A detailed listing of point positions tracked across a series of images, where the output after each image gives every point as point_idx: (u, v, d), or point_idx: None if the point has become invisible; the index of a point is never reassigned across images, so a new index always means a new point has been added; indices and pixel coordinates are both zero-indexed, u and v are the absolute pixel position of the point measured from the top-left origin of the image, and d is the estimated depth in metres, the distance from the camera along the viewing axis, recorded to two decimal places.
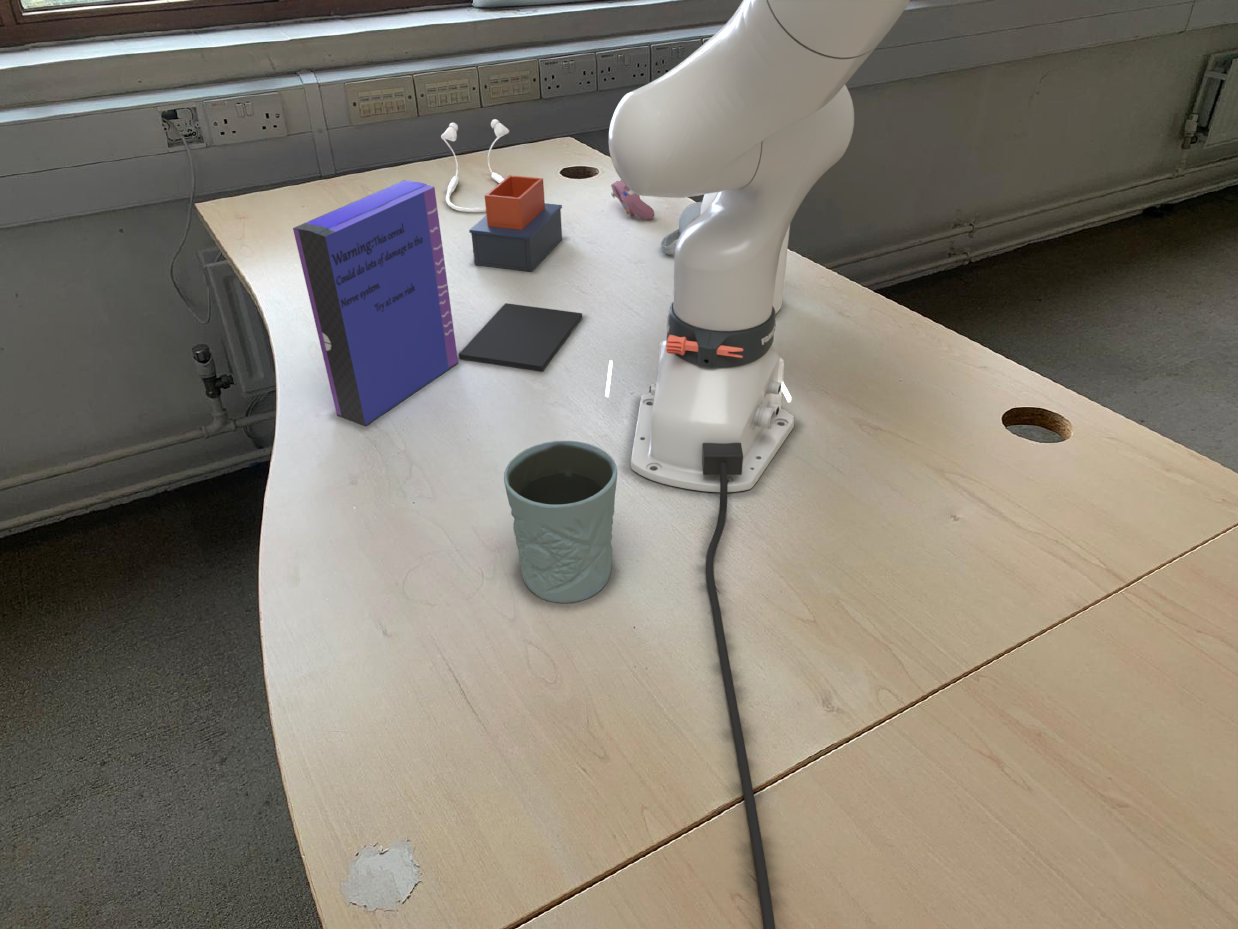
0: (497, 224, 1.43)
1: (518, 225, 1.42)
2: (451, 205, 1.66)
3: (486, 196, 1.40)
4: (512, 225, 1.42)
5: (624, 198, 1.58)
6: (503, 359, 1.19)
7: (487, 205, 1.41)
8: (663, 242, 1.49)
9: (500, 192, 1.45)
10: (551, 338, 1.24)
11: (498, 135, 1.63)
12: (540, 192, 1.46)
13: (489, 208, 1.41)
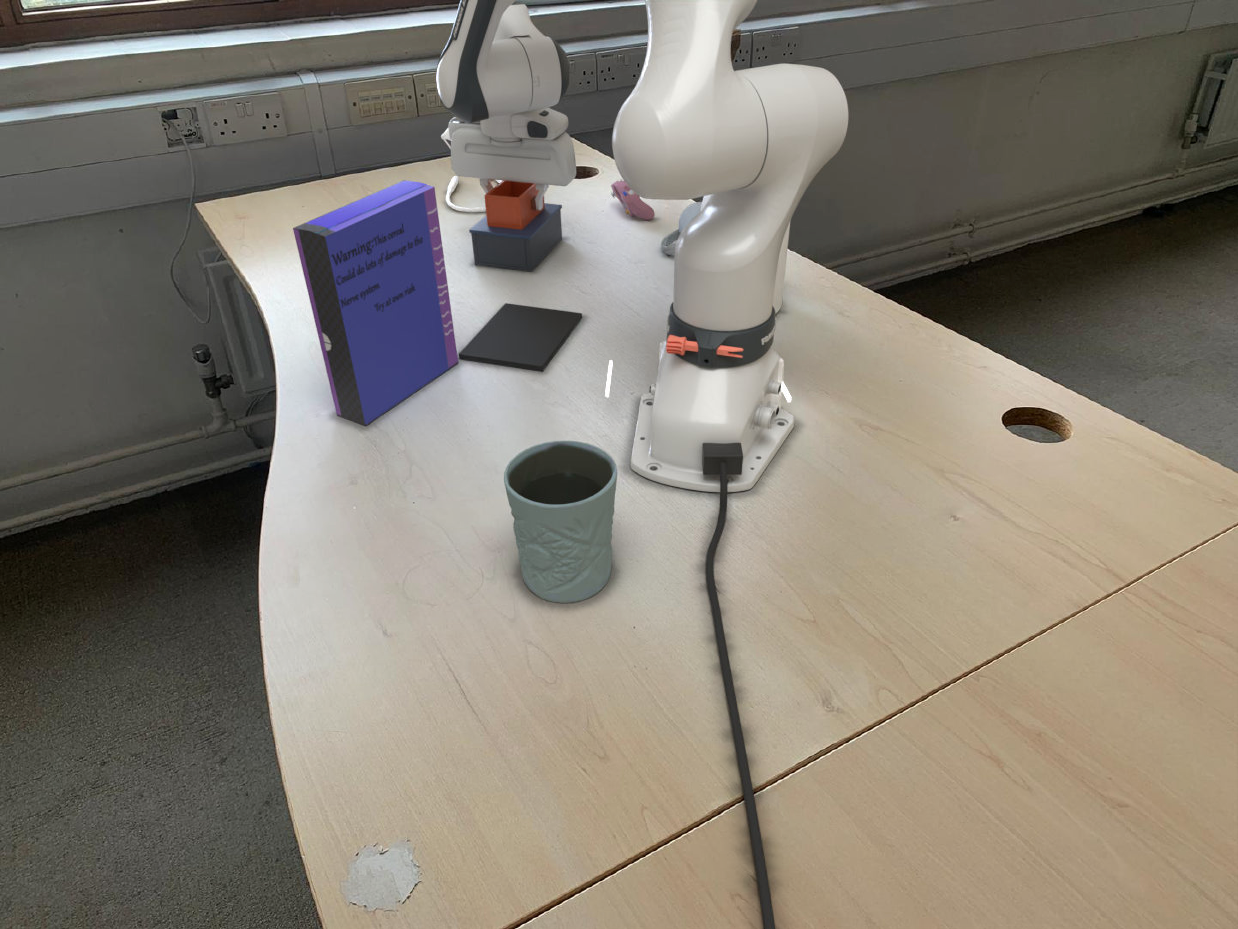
0: (497, 224, 1.43)
1: (518, 225, 1.42)
2: (451, 205, 1.66)
3: (486, 196, 1.40)
4: (512, 225, 1.42)
5: (624, 198, 1.58)
6: (503, 359, 1.19)
7: (487, 205, 1.41)
8: (663, 242, 1.49)
9: (500, 192, 1.45)
10: (551, 338, 1.24)
11: None
12: None
13: (489, 208, 1.41)
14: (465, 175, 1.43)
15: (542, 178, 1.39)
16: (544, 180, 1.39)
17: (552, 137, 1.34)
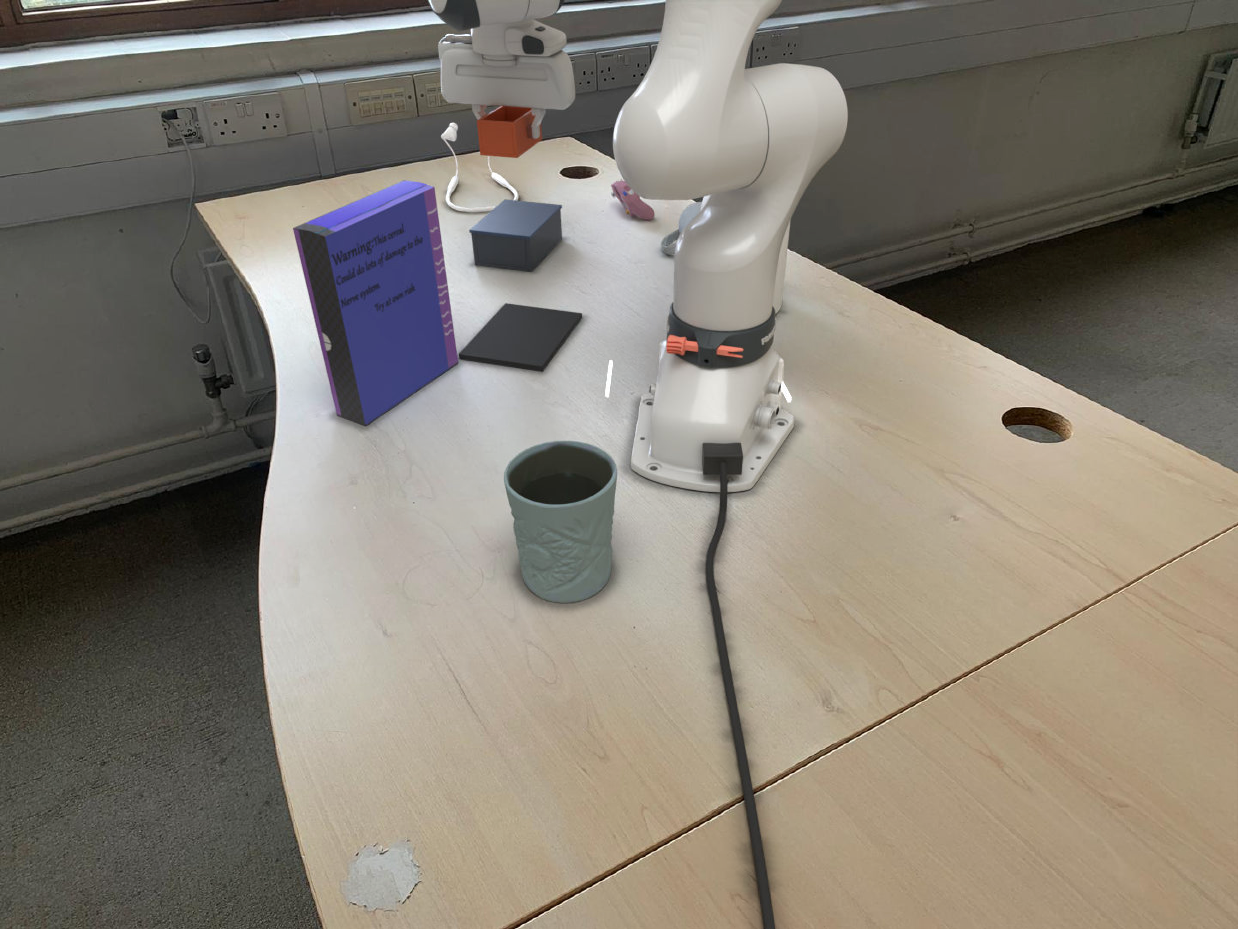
0: (490, 152, 1.33)
1: (512, 153, 1.32)
2: (451, 205, 1.66)
3: (478, 121, 1.31)
4: (506, 153, 1.32)
5: (624, 198, 1.58)
6: (503, 359, 1.19)
7: (480, 131, 1.32)
8: (663, 242, 1.49)
9: (494, 120, 1.35)
10: (551, 338, 1.24)
11: None
12: None
13: (482, 135, 1.32)
14: (456, 101, 1.33)
15: (538, 101, 1.30)
16: (541, 103, 1.30)
17: (549, 53, 1.24)
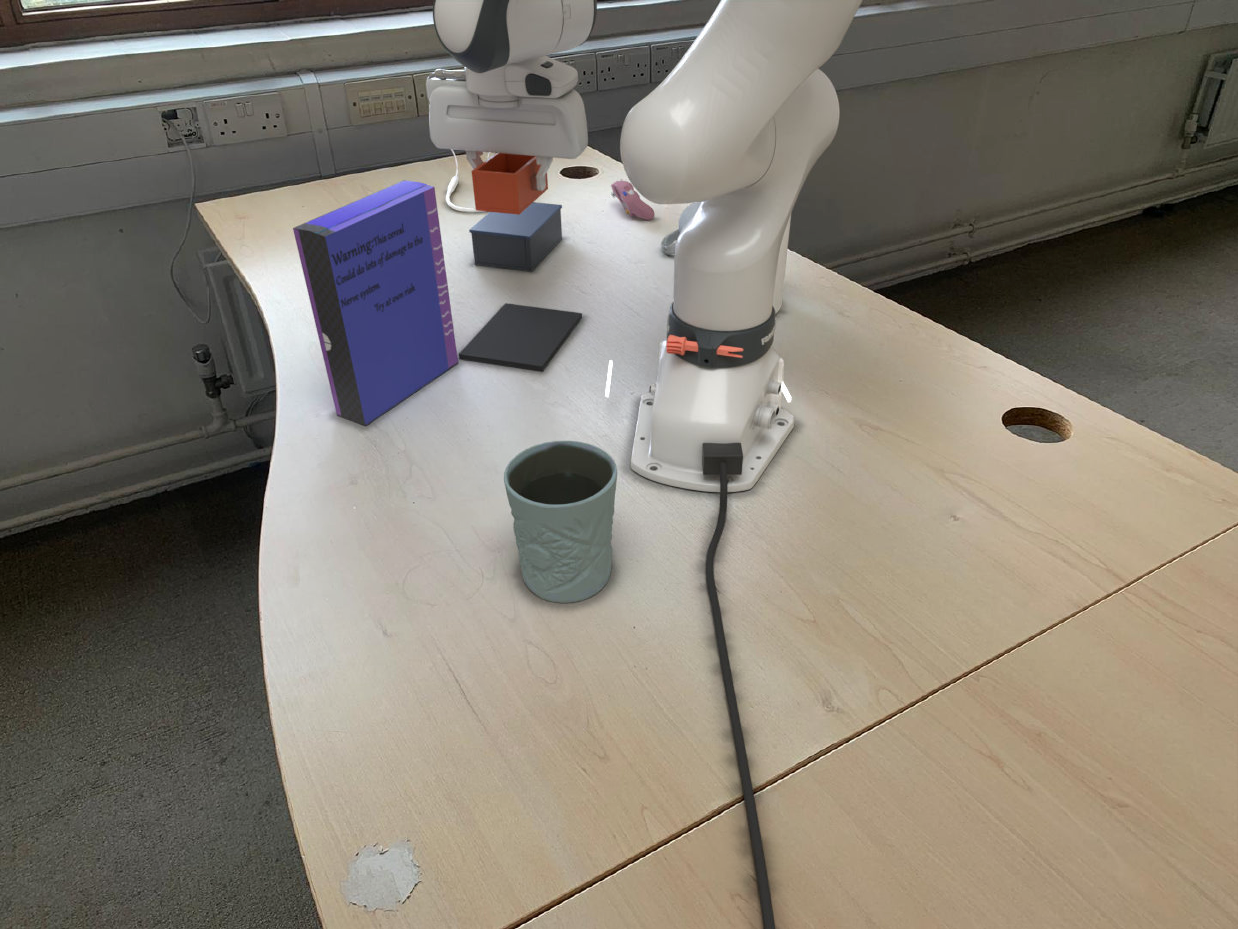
0: (488, 208, 1.13)
1: (514, 209, 1.12)
2: (451, 205, 1.66)
3: (473, 172, 1.11)
4: (506, 209, 1.12)
5: (624, 198, 1.58)
6: (503, 359, 1.19)
7: (475, 183, 1.11)
8: (663, 242, 1.49)
9: (492, 168, 1.15)
10: (551, 338, 1.24)
11: None
12: None
13: (477, 187, 1.12)
14: (448, 147, 1.13)
15: (545, 149, 1.10)
16: (548, 152, 1.10)
17: (557, 94, 1.04)
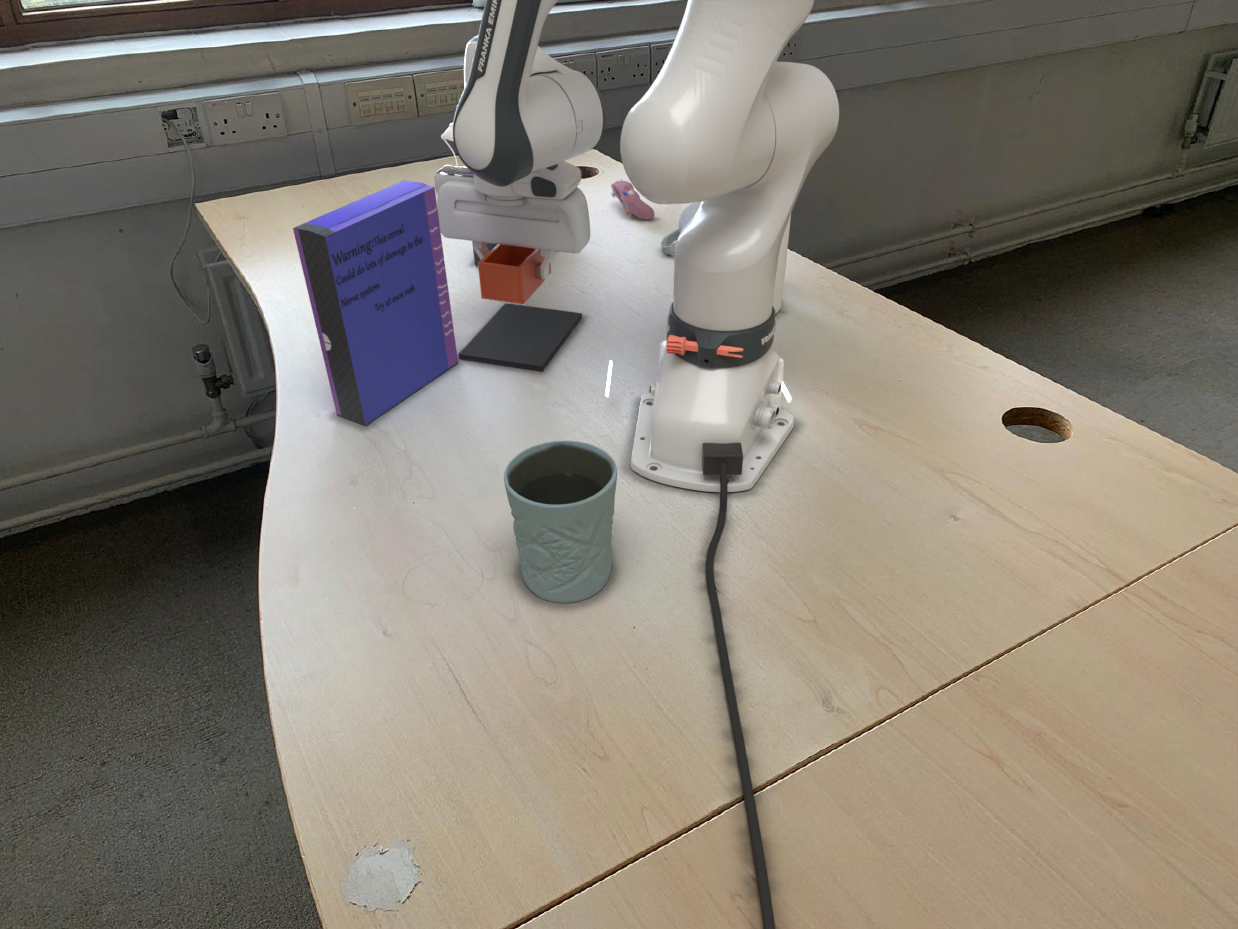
0: (493, 297, 1.17)
1: (518, 299, 1.16)
2: None
3: (480, 264, 1.15)
4: (511, 298, 1.17)
5: (624, 198, 1.58)
6: (503, 359, 1.19)
7: (481, 274, 1.16)
8: (663, 242, 1.49)
9: (497, 256, 1.19)
10: (551, 338, 1.24)
11: None
12: None
13: (484, 278, 1.16)
14: (455, 237, 1.17)
15: (549, 243, 1.14)
16: (552, 246, 1.14)
17: (562, 196, 1.08)
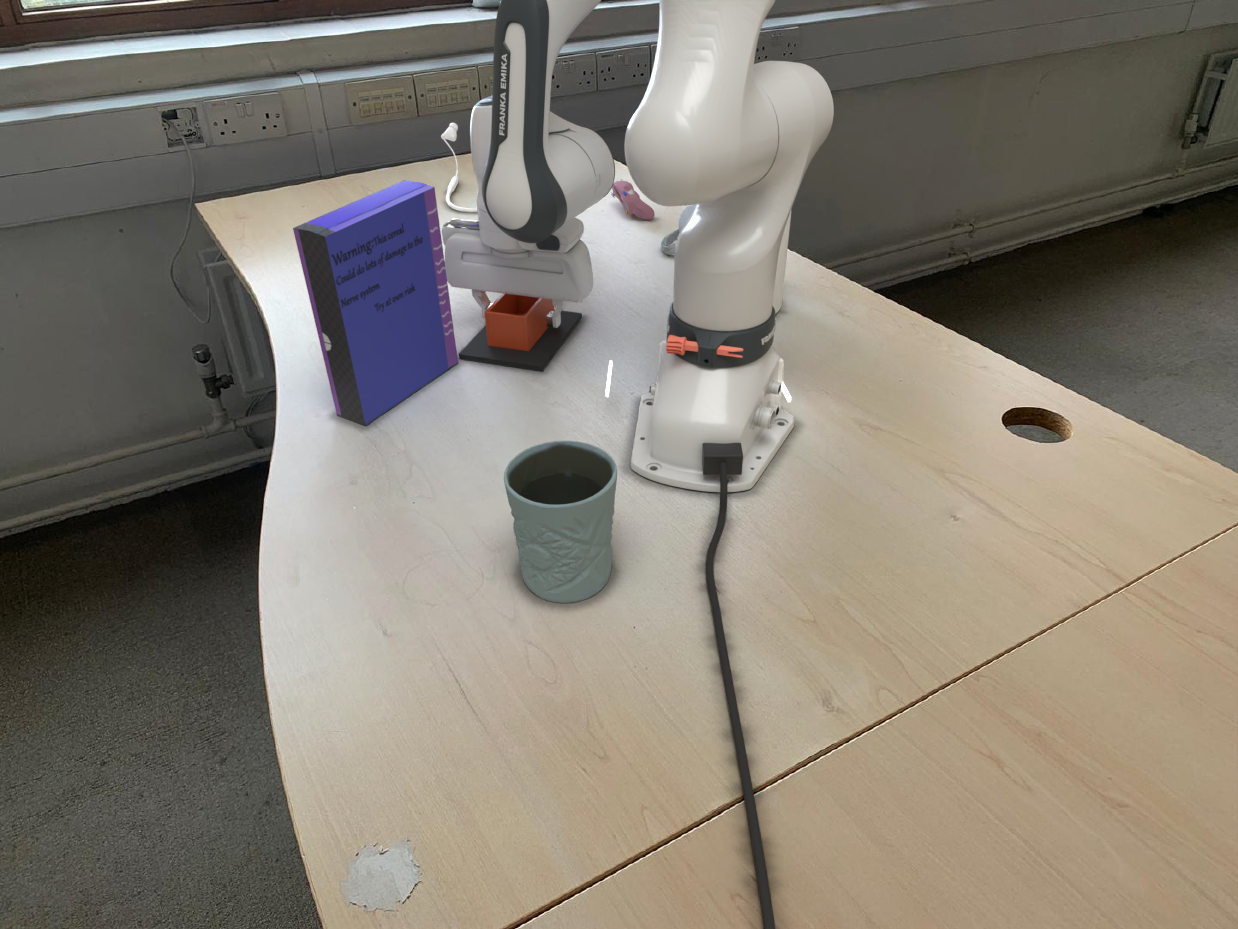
0: (499, 344, 1.21)
1: (523, 346, 1.20)
2: (451, 205, 1.66)
3: (486, 313, 1.19)
4: (517, 346, 1.21)
5: (624, 198, 1.58)
6: (503, 359, 1.19)
7: (487, 323, 1.20)
8: (663, 242, 1.49)
9: (503, 304, 1.23)
10: (551, 338, 1.24)
11: None
12: (550, 303, 1.25)
13: (490, 326, 1.20)
14: (462, 286, 1.21)
15: (553, 293, 1.18)
16: (555, 296, 1.18)
17: (565, 250, 1.12)
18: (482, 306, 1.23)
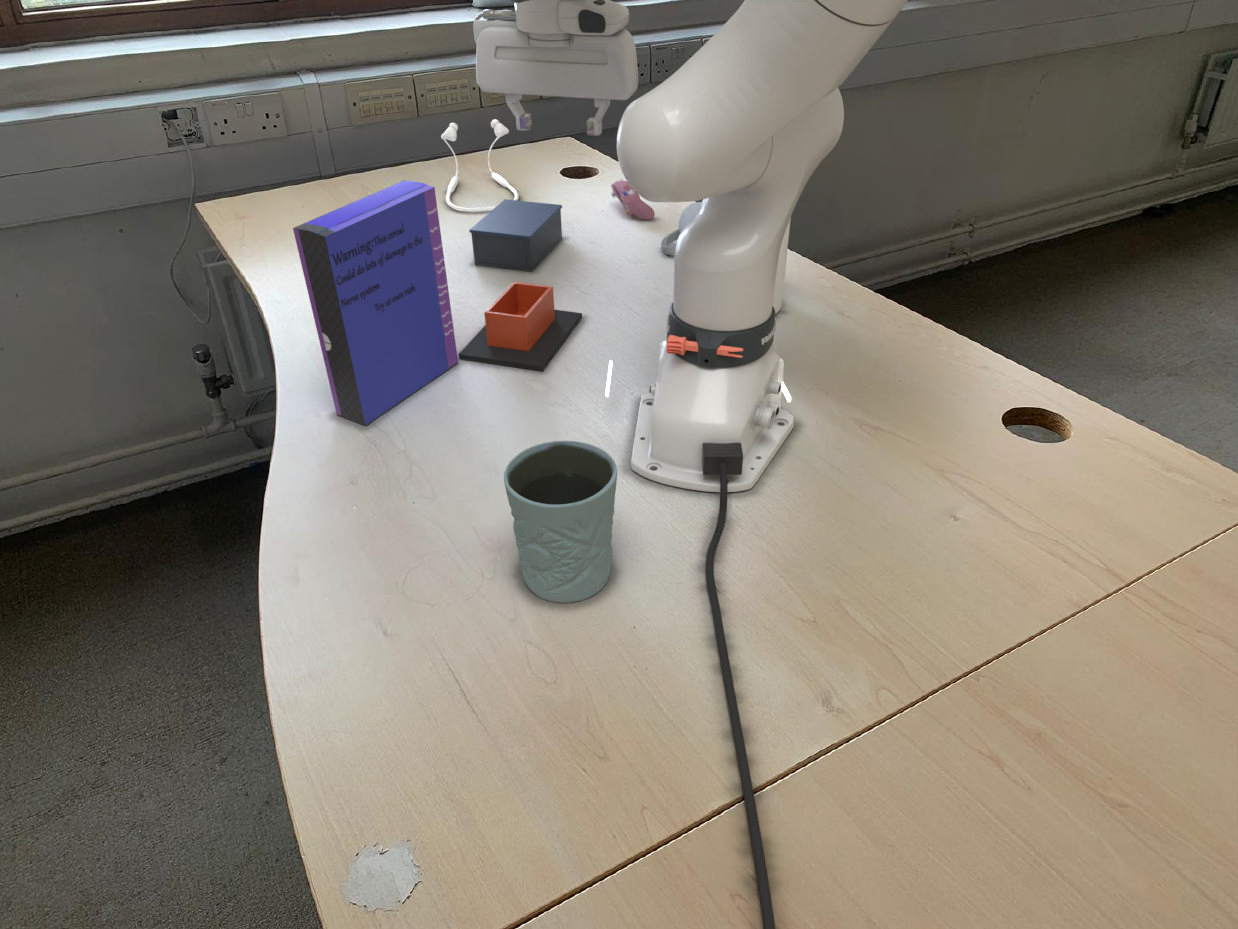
0: (499, 344, 1.21)
1: (523, 346, 1.20)
2: (451, 205, 1.66)
3: (486, 313, 1.19)
4: (517, 346, 1.21)
5: (624, 198, 1.58)
6: (503, 359, 1.19)
7: (487, 323, 1.20)
8: (663, 242, 1.49)
9: (503, 304, 1.23)
10: (551, 338, 1.24)
11: (498, 135, 1.63)
12: (550, 303, 1.25)
13: (490, 326, 1.20)
14: (494, 90, 1.12)
15: (595, 90, 1.08)
16: (598, 93, 1.08)
17: (611, 31, 1.02)
18: (516, 114, 1.14)
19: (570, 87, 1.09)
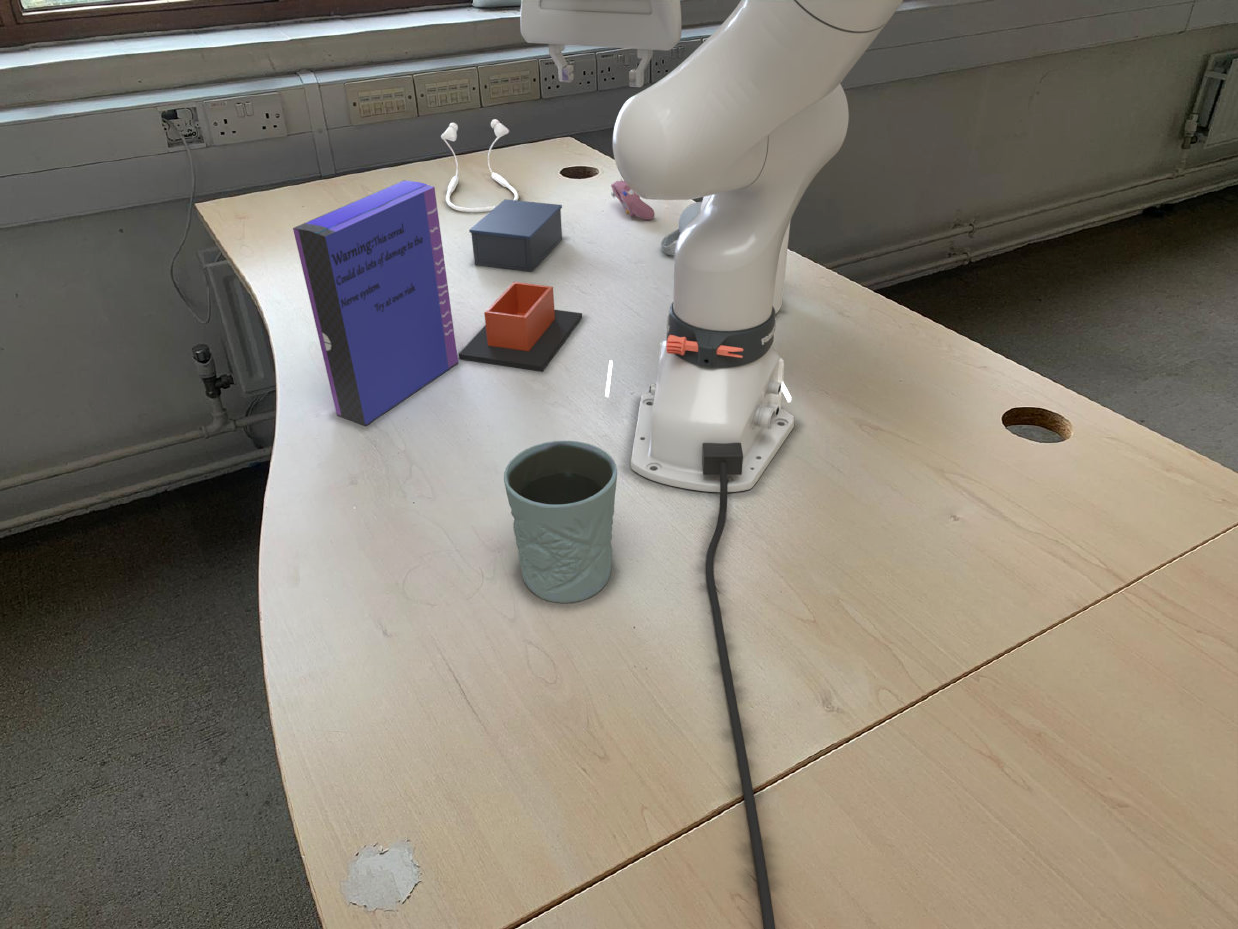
0: (499, 344, 1.21)
1: (523, 346, 1.20)
2: (451, 205, 1.66)
3: (486, 313, 1.19)
4: (517, 346, 1.21)
5: (624, 198, 1.58)
6: (503, 359, 1.19)
7: (487, 323, 1.20)
8: (663, 242, 1.49)
9: (503, 304, 1.23)
10: (551, 338, 1.24)
11: (498, 135, 1.63)
12: (550, 303, 1.25)
13: (490, 326, 1.20)
14: (538, 40, 1.13)
15: (639, 40, 1.09)
16: (642, 43, 1.09)
17: None
18: (559, 66, 1.15)
19: (614, 37, 1.10)
